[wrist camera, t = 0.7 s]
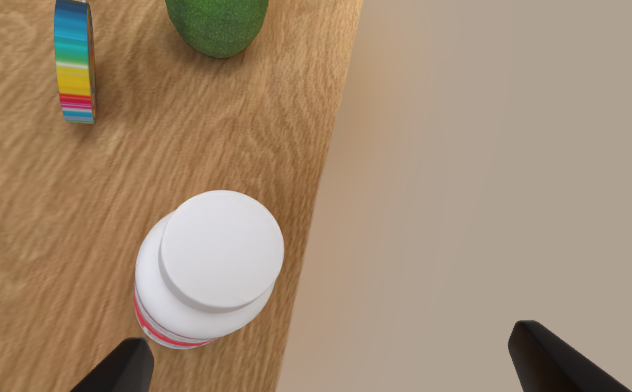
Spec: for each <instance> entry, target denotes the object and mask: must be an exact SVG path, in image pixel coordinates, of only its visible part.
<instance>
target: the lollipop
mask: <svg viewBox="0 0 632 392" xmlns="http://www.w3.org/2000/svg"><path fill="white" fill-rule="evenodd" d="M54 43H55V60H56V72H57V81H58V89H59V96H60V102H61V107H62V111H63V115H64V118H65V120H66V122H69V123H86V124H95V122H96V75H95V55H94V40H93V28H92V18H91V11H90V6H89V3H86V0H82V2H79V1H74V0H56V4H55V15H54Z"/></svg>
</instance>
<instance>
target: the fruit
mask: <svg viewBox="0 0 632 392" xmlns="http://www.w3.org/2000/svg"><path fill="white" fill-rule="evenodd" d="M165 2H166V6H167V10H168V14H169V18H170V19H171V21H172V23H173V24H174V26H175V27H176V29H177V31H178V32H179V34H180V35H181V37H182V38H183V39H184V40H185V42H186V43H187V44H188V45H190V46H191V47H193V48H194V49H196V50H197V51H199V52H201V53H203V54H205V55H207V56H210V57H215V58H221V59H223V58H228V57H232V56H234V55H236V54H238V53H240V52H241V51H242V50H244V49H245V48H246V47H247V46H248V45H249V44H250V43H251V42H252V41H253V39H254V38H255V37H256V35H257V34H258V33H259V31H260V29H261V27H262V25H263V21H264V18H265V14H266V11H267V7H268V0H165Z"/></svg>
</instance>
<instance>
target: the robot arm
mask: <svg viewBox="0 0 632 392" xmlns="http://www.w3.org/2000/svg"><path fill="white" fill-rule="evenodd" d="M508 349H509V353H510V356H511V358H512V361H513V364H514V366H515V369H516V372H517V375H518V378H519V380H520V383H521V386H522V388H523V391H524V392H632V391H630V390H629V389H628V388H627V387H625V386H624V385H623V384H621V383H620V382H618V381H617V380H615V379H614V378H613V377H612V376H610V375H609V374H608V373H606V372H605V371H603V370H602V369H601V368H599V367H598V366H597V365H595V364H594V363H593V362H591V361H590V360H589V359H587V358H586V357H585V356H583V355H582V354H581V353H579V352H578V351H577V350H575V349H574V348H573V347H571V346H570V345H569V344H567V343H566V342H564V341H563V340H562V339H560V338H559V337H558V336H556V335H555V334H554V333H552V332H551V331H550V330H548V329H547V328H546V327H544V326H543V325H541V324H540V323H539V322H537V321H534V320H520V321H517V322H516V324H515V326H514V328H513V331H512V333H511V336H510V338H509V342H508ZM153 369H154V357H153V355H152V352H151V350H150V348H149V345H148V343H147V341H146V339H145V338H144V337H130V338H127V339H125V340H123V341H122V342H121V343H120V344H119V345H118V346H117V347H116V348H115V349H114V350H113V351H112V352H111V353H110V354H109V355H107V356H106V357H105V358H104V359H103V360H102V361H101V362H100V363H99V364H98V365H97V366H96V367H95V368H94V369H93V370H92V371H91V372H90V373H89V374H88V375H87V376H85V377H84V378H83V379H82V380H81V381H80V382H79V383H78V384H77V385H76V386H75V387H74V388H73V389H72V390H71V391H70V392H148V390H149V386H150V381H151V377H152V373H153Z"/></svg>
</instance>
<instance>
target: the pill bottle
mask: <svg viewBox="0 0 632 392" xmlns="http://www.w3.org/2000/svg"><path fill="white" fill-rule="evenodd" d="M283 257H284V243H283V237H282V234H281V231H280V228H279V226H278V224H277V222H276V220H275V218H274V217H273V216H272V214H271V213H270V212H269V211H268V210H267V209H266V208H265V207H264V206H263V205H262V204H261V203H259V202H258V201H256V200H255V199H253V198H251V197H249V196H247V195H244V194H242V193H238V192H234V191H228V190H216V191H209V192H205V193H202V194H199V195H196V196H194V197H192V198H190V199H189V200H187V201H185V202H184V203H183V204H182V205H180V206H179V207H178V208H177V209H176V210H175V211H173V212H171V213H170V214H168V215H166V216H165V217H164V218H162V219H161V220H160V221H159V222H158V223H157V224H156V225H155V226H154V227H153V228H152V229H151V230H150V232H149V233H148V235H147V236H146V238H145V239H144V241H143V243H142V245H141V248H140V250H139V253H138V257H137V261H136V267H135V283H134V308H135V313H136V317H137V320H138V322H139V324H140V326H141V328H142V329H143V330H144V332H145V333H146V334H147V335H148V336H149V337H150V338H151V339H153V340H154V341H156V342H157V343H159V344H161V345H163V346H166V347H170V348H175V349H191V348H196V347H199V346H202V345H205V344H208V343H210V342H212V341H214V340H216V339H218V338H221V337H223V336H225V335H227V334H230V333H232V332H235V331H237V330H239V329H240V328H242V327H243V326H245V325H246V324H248V323H249V322H250V321H251V320H253V319H254V318H255V317H256V316H257V315H258V314H259V313H260V311H261V310H262V309H263V307H264V306H265V305H266V303H267V301H268V299H269V297H270V295H271V293H272V290H273V287H274V284H275V280H276V278H277V276H278V274H279V272H280V270H281V267H282V263H283Z"/></svg>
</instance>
